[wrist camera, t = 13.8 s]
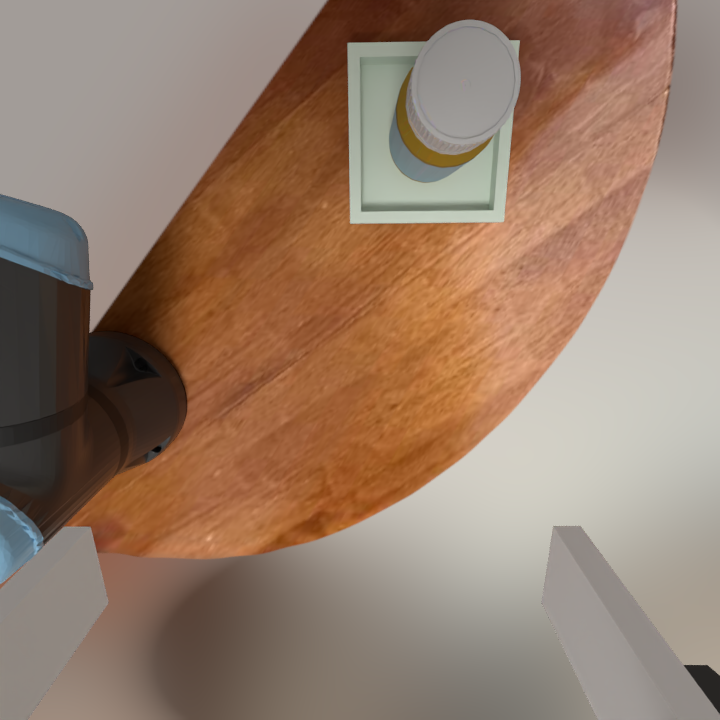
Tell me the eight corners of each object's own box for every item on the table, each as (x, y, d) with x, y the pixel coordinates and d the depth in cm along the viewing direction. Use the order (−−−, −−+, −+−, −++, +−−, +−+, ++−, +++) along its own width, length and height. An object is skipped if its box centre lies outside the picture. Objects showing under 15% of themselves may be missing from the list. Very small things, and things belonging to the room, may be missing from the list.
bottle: (399, 88, 36) (421, -7, 22) (476, 109, 37) (547, 28, 22) (380, 173, 38) (389, 136, 24) (453, 191, 39) (505, 166, 24)
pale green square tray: (351, 223, 40) (350, 223, 38) (348, 55, 36) (347, 42, 34) (495, 222, 40) (503, 221, 38) (509, 53, 36) (519, 40, 34)
